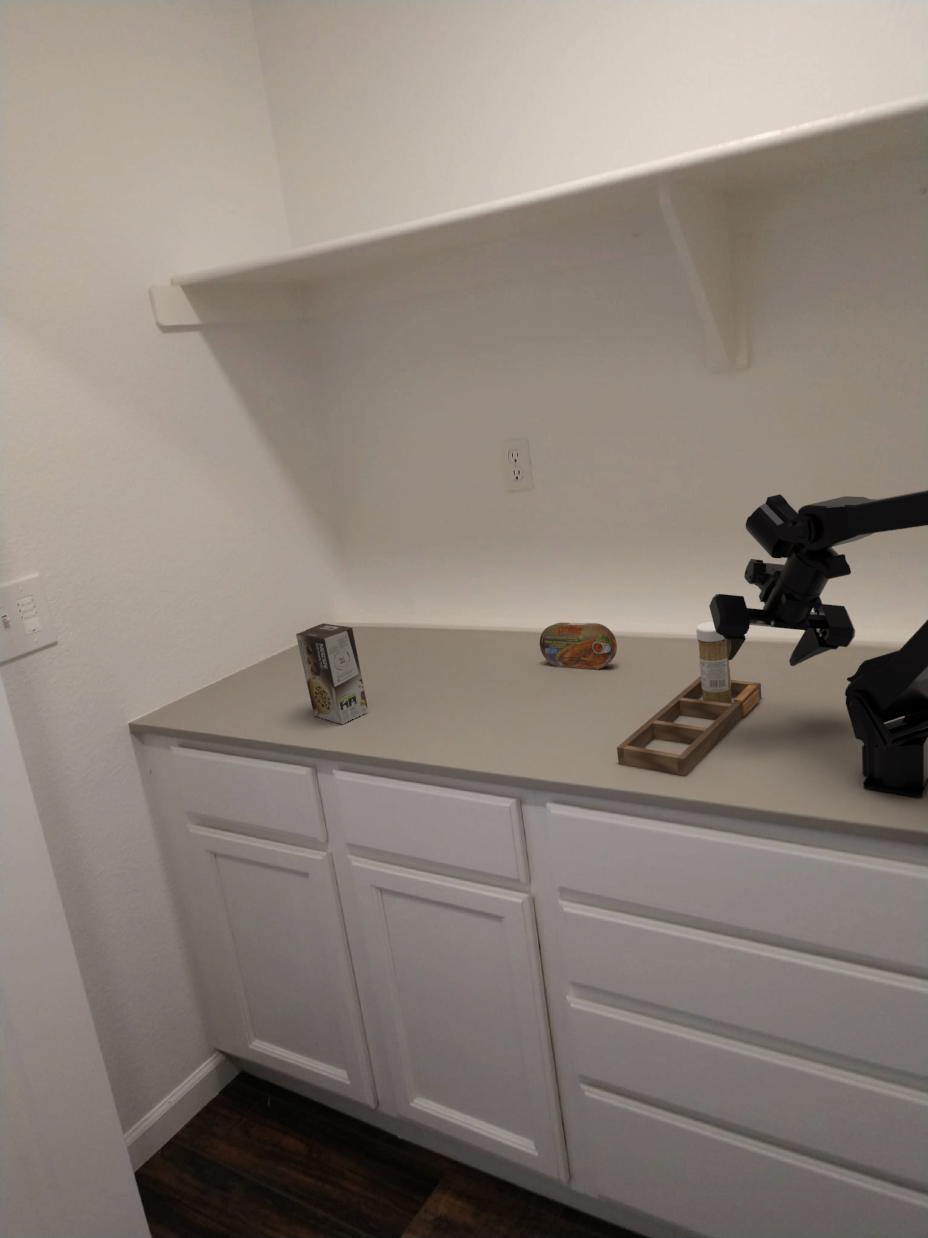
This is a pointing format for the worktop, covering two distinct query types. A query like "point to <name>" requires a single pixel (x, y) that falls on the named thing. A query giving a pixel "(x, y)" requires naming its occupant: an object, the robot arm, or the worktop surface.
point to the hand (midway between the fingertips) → (760, 660)
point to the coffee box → (332, 672)
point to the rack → (687, 728)
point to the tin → (578, 645)
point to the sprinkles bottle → (714, 664)
